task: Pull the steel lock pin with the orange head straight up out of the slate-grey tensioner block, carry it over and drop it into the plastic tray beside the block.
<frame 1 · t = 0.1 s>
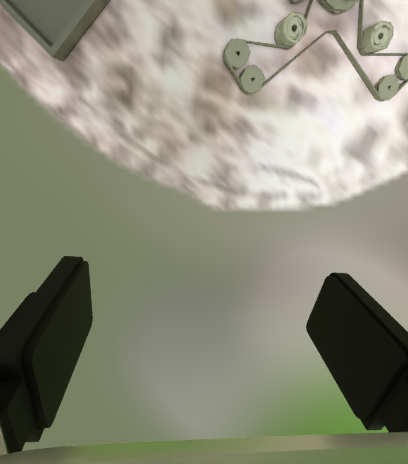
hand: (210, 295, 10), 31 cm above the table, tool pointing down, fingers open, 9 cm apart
pulley system: (326, 33, 33), on the table
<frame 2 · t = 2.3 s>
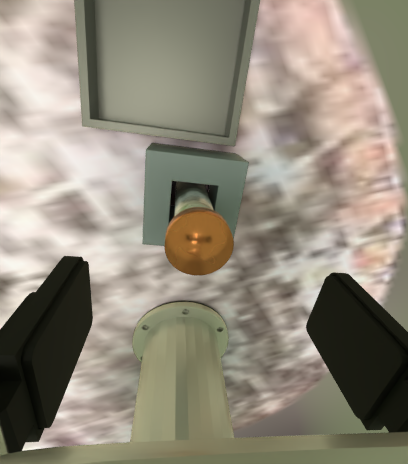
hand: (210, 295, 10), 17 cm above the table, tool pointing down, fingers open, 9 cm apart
parts tray: (168, 54, 21), on the table
lock pin: (193, 210, 20), in the tensioner block
tensioner block: (190, 189, 26), on the table
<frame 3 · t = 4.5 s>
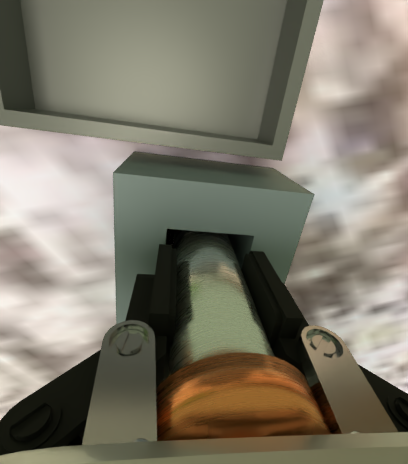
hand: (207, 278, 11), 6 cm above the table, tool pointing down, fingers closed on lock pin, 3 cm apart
lock pin: (208, 283, 11), in the tensioner block, touching gripper
tensioner block: (197, 224, 16), on the table
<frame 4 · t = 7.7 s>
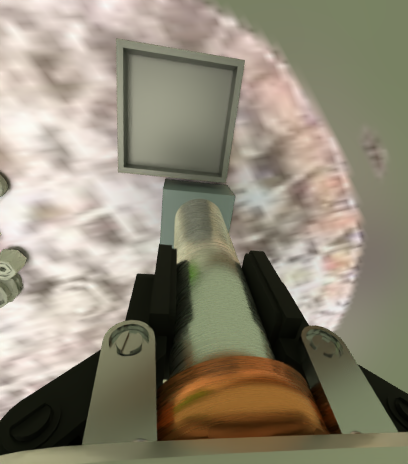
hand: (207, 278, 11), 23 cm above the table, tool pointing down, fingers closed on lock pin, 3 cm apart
parts tray: (177, 119, 29), on the table
lock pin: (208, 282, 11), point 23 cm above the table, touching gripper
tensioner block: (193, 211, 34), on the table
when the fingers open (9 cm above the table, at t = 11.3 s): lock pin drops 2 cm, resting on parts tray.
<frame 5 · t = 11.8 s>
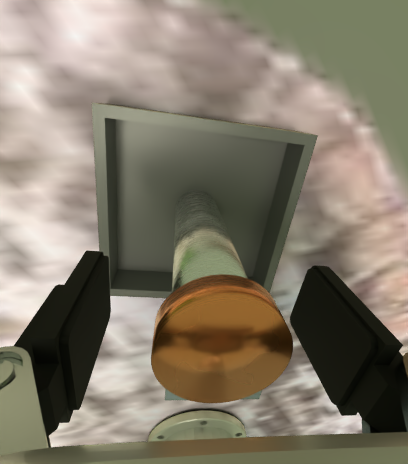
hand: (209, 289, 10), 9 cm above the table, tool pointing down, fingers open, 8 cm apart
parts tray: (195, 207, 19), on the table
lock pin: (203, 252, 13), in the parts tray, point 7 cm above the table
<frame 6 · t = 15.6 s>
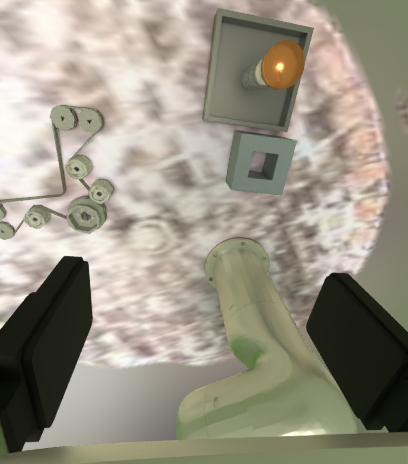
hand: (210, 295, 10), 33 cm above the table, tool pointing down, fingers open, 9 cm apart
parts tray: (250, 78, 36), on the table
lock pin: (265, 73, 30), in the parts tray, point 7 cm above the table
tensioner block: (253, 159, 41), on the table
pulley system: (66, 191, 41), on the table
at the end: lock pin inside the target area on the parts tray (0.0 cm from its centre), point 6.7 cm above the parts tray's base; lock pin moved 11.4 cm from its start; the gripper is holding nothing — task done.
